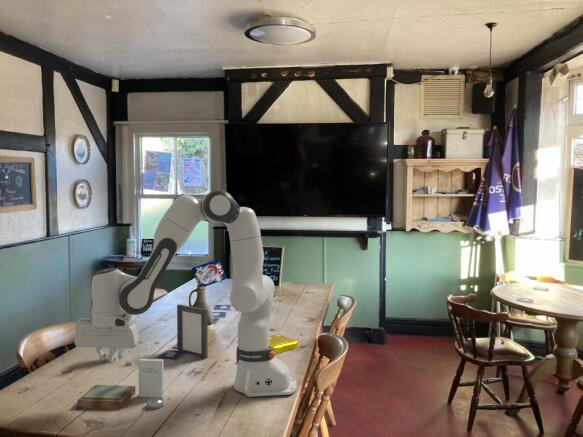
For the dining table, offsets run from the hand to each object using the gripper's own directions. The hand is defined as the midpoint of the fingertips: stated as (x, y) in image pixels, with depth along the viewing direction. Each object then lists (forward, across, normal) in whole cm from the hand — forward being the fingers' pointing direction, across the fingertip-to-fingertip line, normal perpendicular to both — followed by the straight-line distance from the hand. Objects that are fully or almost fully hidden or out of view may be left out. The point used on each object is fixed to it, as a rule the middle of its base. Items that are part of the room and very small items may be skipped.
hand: (106, 360), depth 157 cm
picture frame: (+14, +17, +44) cm, 49 cm away
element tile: (+14, +50, +57) cm, 77 cm away
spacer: (+14, +17, -3) cm, 22 cm away
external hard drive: (+14, +13, +4) cm, 19 cm away
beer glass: (+14, -13, +36) cm, 41 cm away
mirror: (+13, 0, 0) cm, 13 cm away
